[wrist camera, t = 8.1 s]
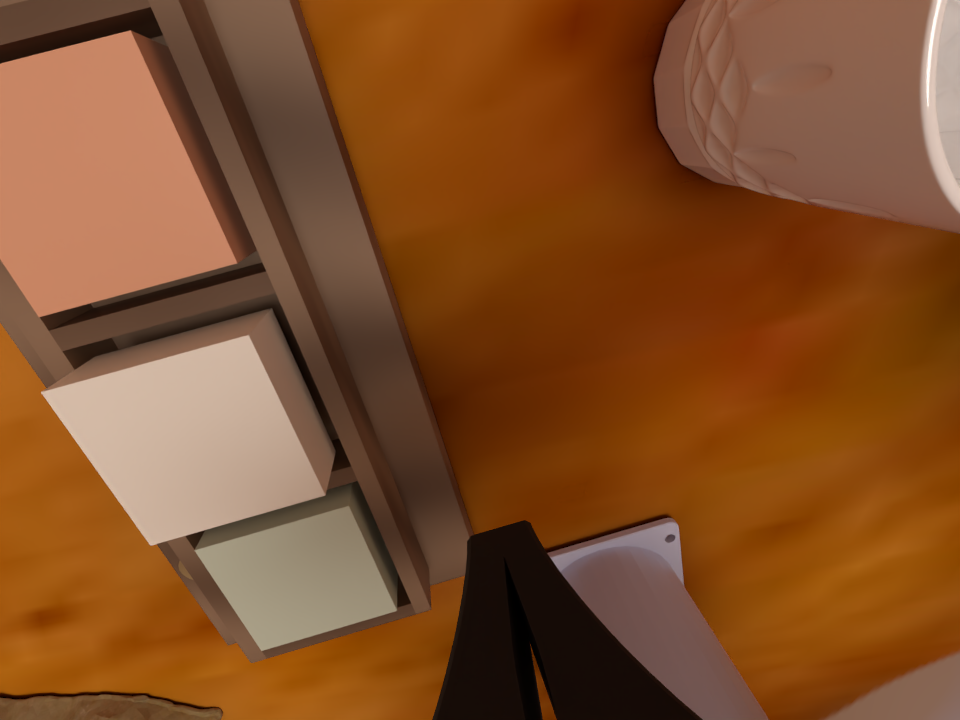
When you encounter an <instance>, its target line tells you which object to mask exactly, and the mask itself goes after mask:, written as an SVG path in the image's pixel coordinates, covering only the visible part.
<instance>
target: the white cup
mask: <svg viewBox="0 0 960 720" xmlns="http://www.w3.org/2000/svg"><path fill="white" fill-rule="evenodd" d="M653 80H654V90H655V101H656V111H657V121H658V128H659V130H660V131H661V133H662V135H663V136H664V138H665V140H666V141H667V143H668V145H669V146H670V148H671V150H672V151H673V153H674V155H675V156H676V158H677V160H678V161H679V163H680V164H681V165H683V166H685V167H687V168H689V169H691V170H692V171H694V172H696V173H698V174H700V175H702V176H704V177H705V178H707V179H709V180H711V181H713V182H716V183H721V184H727V185H733V186H739V187H745V188H747V189H750V190H753V191H756V192H759V193H763V194H766V195H770V196H773V197H778V198H784V199H790V200H795V201H799V202H802V203H806V204H810V205H814V206H818V207H823V208H828V209H833V210H838V211H844V212H849V213H854V214H859V215H864V216H870V217H875V218H880V219H885V220H890V221H896V222H901V223H906V224H911V225H916V226H922V227H927V228H932V229H937V230H942V231H947V232H952V233H957V234H960V0H686V1H685V2H684V3H683V5H682V6H681V7H680V9H679V10H678V12H677V13H676V14H675V16H674V17H673V18H672V20H671V21H670V23H669V24H668V27H667V31H666V34H665V38H664V42H663V45H662V49H661V52H660V56H659V60H658V63H657V67H656V70H655V74H654V78H653Z"/></svg>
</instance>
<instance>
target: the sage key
mask: <svg viewBox="0 0 960 720" xmlns="http://www.w3.org/2000/svg"><path fill="white" fill-rule="evenodd" d="M194 551H195V552H196V554H197V555H198V557H199V558H200V560H201V561H202V563H203V564H204V566H205V567H206V569H207V570H208V572H209V573H210V575H211V576H212V578H213V579H214V581H215V582H216V584H217V585H218V587H219V588H220V590H221V591H222V593H223V594H224V596H225V597H226V599H227V600H228V602H229V603H230V605H231V606H232V608H233V609H234V611H235V612H236V614H237V615H238V617H239V618H240V620H241V621H242V623H243V624H244V626H245V627H246V629H247V630H248V632H249V633H250V635H251V636H252V638H253V639H254V641H255V642H256V644H257V645H258V647H259V648H260V650H261V651H263V650H267V649H270V648H274V647H277V646H280V645H284V644H287V643H290V642H294V641H297V640H301V639H304V638H307V637H311V636H314V635H317V634H321V633H324V632H328V631H331V630H334V629H338V628H341V627H344V626H348V625H351V624H355V623H358V622H361V621H365V620H368V619H371V618H375V617H378V616H382V615H385V614H388V613H392V612H395V611H397V589H398V572H397V570H396V567H395V565H394V563H393V560H392V558H391V556H390V554H389V551H388V549H387V547H386V544H385V542H384V540H383V537H382V535H381V533H380V531H379V528H378V526H377V524H376V521H375V519H374V517H373V515H372V512H371V510H370V508H369V505H368V503H367V501H366V499H365V496H364V494H363V492H362V489H361V487H360V485H359V482H358V481H356V482H352V483H349V484H345V485H342V486H338V487H335V488H331V489H328V490H327V491H326V495H325V496H322V497H318V498H315V499H311V500H308V501H304V502H301V503H297V504H294V505H290V506H287V507H284V508H280V509H277V510H273V511H270V512H266V513H263V514H259V515H256V516H252V517H249V518H245V519H242V520H238V521H235V522H231V523H228V524H224V525H221V526H218V527H214V528H211V529H207V530H205V532H204V533H203V535H202V537H201V539H200V541H199V543H198V545H197V547H196V549H195V550H194Z"/></svg>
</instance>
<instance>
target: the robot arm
mask: <svg viewBox="0 0 960 720" xmlns="http://www.w3.org/2000/svg"><path fill="white" fill-rule="evenodd" d="M668 535H669V536H668ZM529 641H530V642H529ZM530 644H531V647H532V650H533V652H534V655H535V658H536V661H537V664H538V667H539V670H540V673H541V675H542V678H543V681H544V684H545V687H546V690H547V693H548V695H549V698H550V701H551V704H552V707H553V710H554V713H555V715H556V718H557V720H769V719H768V717H767V716H766V714H765V713H764V711H763V709H762V708H761V706H760V705H759V703H758V702H757V700H756V699H755V697H754V695H753V694H752V692H751V691H750V689H749V688H748V686H747V684H746V683H745V681H744V680H743V678H742V677H741V675H740V673H739V672H738V670H737V669H736V667H735V666H734V664H733V663H732V661H731V659H730V658H729V656H728V655H727V653H726V652H725V650H724V648H723V647H722V645H721V644H720V642H719V641H718V639H717V637H716V636H715V634H714V633H713V631H712V630H711V628H710V627H709V625H708V623H707V622H706V620H705V619H704V617H703V616H702V614H701V612H700V611H699V609H698V608H697V606H696V605H695V603H694V601H693V600H692V598H691V597H690V595H689V594H688V592H687V590H686V589H685V587H684V579H683V568H682V557H681V546H680V535H679V526H678V524H677V523H676V521H675V520H674V519H672V518H664V519H661V520H657V521H654V522H650V523H647V524H644V525H640V526H637V527H633V528H630V529H627V530H623V531H620V532H617V533H613V534H610V535H606V536H603V537H600V538H596V539H593V540H589V541H586V542H583V543H579V544H576V545H573V546H569V547H566V548H562V549H559V550H556V551H552V552H549V553H547V552H546V551H545V549H544V547H543V546H542V544H541V543H540V541H539V539H538V537H537V536H536V534H535V532H534V530H533V528H532V526H531V523H529V522H527V521H525V520H524V521H520V522H517V523H513V524H510V525H507V526H503V527H500V528H496V529H493V530H489V531H486V532H483V533H479V534H476V535H472V536H470V538H469V539H468V541H467V561H466V572H465V580H464V587H463V595H462V600H461V606H460V611H459V617H458V622H457V628H456V633H455V637H454V641H453V646H452V650H451V654H450V658H449V662H448V666H447V670H446V674H445V678H444V682H443V686H442V689H441V693H440V696H439V700H438V703H437V707H436V710H435V713H434V716H433V719H432V720H543V719H542V713H541V707H540V701H539V695H538V689H537V683H536V677H535V671H534V665H533V659H532V653H531V647H530Z"/></svg>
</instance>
